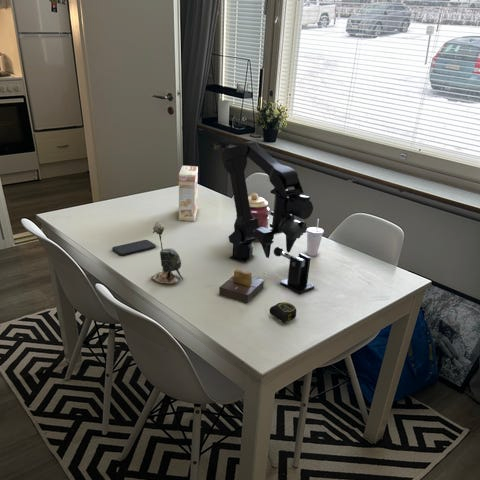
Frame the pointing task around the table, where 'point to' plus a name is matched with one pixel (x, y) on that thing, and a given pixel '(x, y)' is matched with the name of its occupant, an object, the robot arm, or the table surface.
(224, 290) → the plate
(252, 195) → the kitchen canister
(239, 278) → the thumb turn
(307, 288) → the handle bracket
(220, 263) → the table surface
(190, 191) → the coffeecake box
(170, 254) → the dried flower vase
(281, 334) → the table surface
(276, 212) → the robot arm
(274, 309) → the tape measure
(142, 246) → the phone
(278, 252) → the door handle
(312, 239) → the smoothie
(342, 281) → the table surface
